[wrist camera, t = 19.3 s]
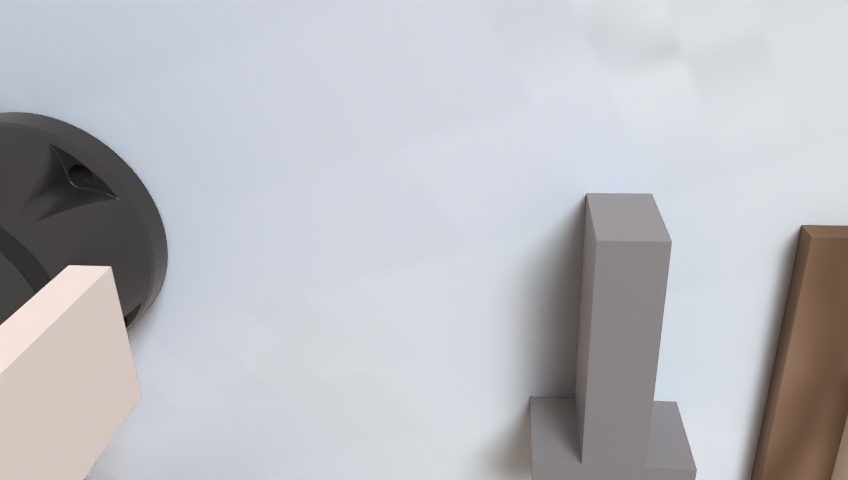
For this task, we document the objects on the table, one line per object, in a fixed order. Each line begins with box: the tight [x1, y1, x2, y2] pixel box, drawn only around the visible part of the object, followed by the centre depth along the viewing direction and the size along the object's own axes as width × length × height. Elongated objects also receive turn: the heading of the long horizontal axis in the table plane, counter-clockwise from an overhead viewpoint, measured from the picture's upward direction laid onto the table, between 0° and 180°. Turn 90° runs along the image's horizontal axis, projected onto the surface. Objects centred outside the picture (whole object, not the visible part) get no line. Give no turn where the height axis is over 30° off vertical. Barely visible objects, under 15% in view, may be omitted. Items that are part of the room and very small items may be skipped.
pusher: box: [530, 193, 697, 480], centre depth 42 cm, size 9×16×6 cm, turn 2°
